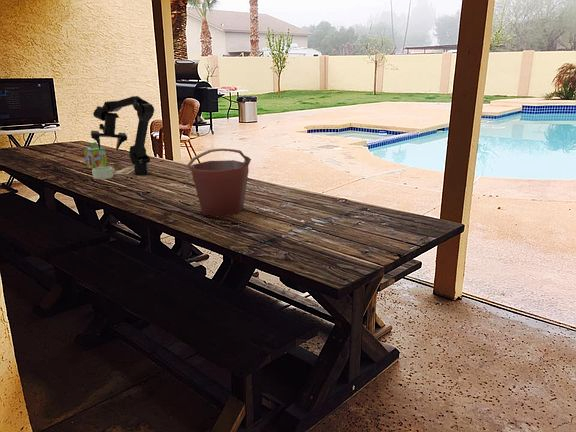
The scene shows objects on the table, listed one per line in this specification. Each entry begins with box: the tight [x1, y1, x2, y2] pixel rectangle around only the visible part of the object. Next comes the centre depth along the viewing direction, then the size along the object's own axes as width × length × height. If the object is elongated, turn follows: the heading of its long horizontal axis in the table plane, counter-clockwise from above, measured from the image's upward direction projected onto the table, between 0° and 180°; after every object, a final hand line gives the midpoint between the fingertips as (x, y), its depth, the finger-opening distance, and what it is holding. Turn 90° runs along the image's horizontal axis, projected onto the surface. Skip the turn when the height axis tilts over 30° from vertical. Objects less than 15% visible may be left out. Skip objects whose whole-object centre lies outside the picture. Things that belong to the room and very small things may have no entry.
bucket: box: [187, 148, 252, 218], centre depth 191 cm, size 24×22×25 cm
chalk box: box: [83, 141, 109, 170], centre depth 286 cm, size 9×9×15 cm
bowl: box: [91, 166, 114, 180], centre depth 259 cm, size 10×10×5 cm
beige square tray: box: [112, 161, 134, 175], centre depth 273 cm, size 13×13×5 cm
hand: (108, 150), depth 274 cm, fingers open, 9 cm apart
